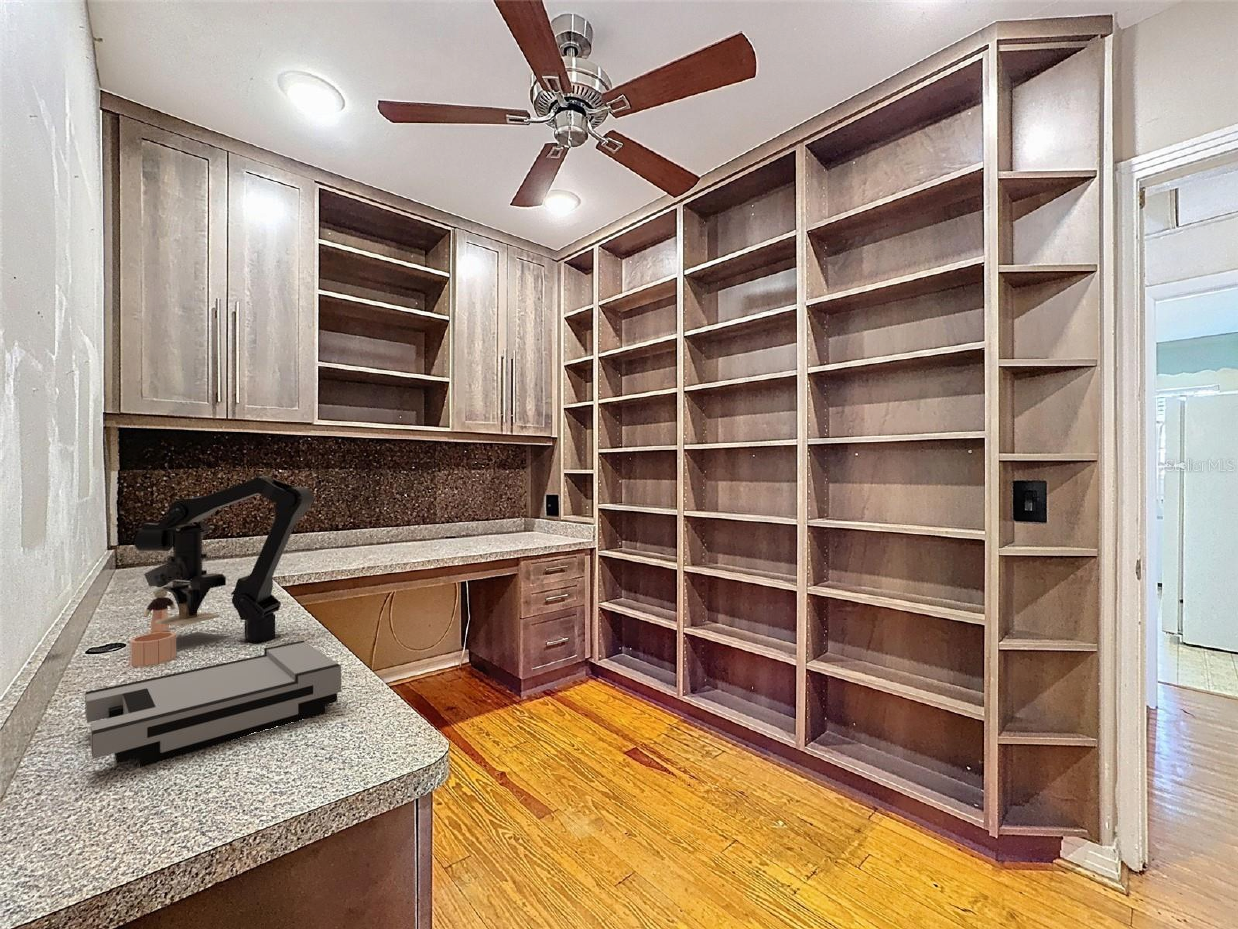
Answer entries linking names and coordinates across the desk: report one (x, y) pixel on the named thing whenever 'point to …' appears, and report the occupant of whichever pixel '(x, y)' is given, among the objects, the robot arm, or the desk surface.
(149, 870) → the desk surface
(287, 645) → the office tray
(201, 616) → the lid
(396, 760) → the desk surface
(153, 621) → the grandmother figurine
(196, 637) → the mat
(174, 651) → the bowl
